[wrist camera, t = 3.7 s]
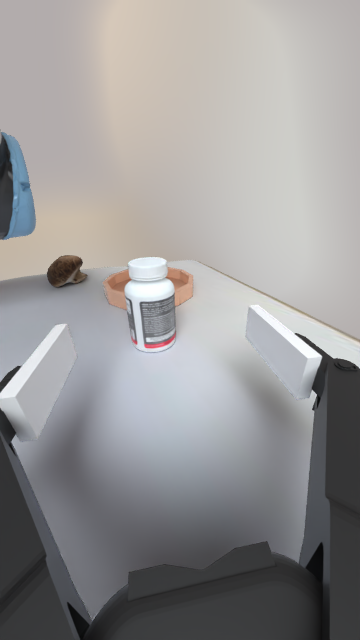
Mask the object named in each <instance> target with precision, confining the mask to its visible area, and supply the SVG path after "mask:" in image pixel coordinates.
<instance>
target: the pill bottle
mask: <svg viewBox="0 0 360 640" xmlns="http://www.w3.org/2000/svg"><path fill="white" fill-rule="evenodd" d="M128 270H129V277H130V278H131V279H132V280H131V281H129V282H128V283H127V284H126V286H125V290H124V291H125V299H126V306H127V313H128V319H129V325H130V332H131V338H132V343H133V345H134V346H135V347H136V348H137V349H138V350H141V351H144V352H159V351H163V350H166V349H168V348H169V347H171V346H172V345H173V343H174V342H175V339H176V328H175V327H176V326H175V290H174V285H173V283H172V282H171V281H170V280H169V279H167V278H165V277H166V276H167V273H168V268H167V261H166V260H165V259H163V258H158V257H145V258H138V259H134V260H131V261H130V262H128Z"/></svg>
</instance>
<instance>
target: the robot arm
mask: <svg viewBox="0 0 360 640" xmlns="http://www.w3.org/2000/svg"><path fill="white" fill-rule="evenodd" d="M35 224H36V218H35V209H34V203H33V197H32V192H31V189H30V184H29V177H28V172H27V168H26V164H25V160H24V157H23V154H22V151H21V148H20V145H19V143H18V141H17V140H16V139H15V138H14V137H12V136H11V135H7V134H6V133H3V132H1V131H0V239H2V240H6V239H9V238H12V237H19V236H26V235H29V234H31V233H32V232H33V231H34V229H35ZM245 337H246V338H247V340H248V341H249V342H250V343H251V345H252V346H253V347H254V348H255V350H256V351H257V352H258V353H259V355H260V356H261V357H262V358H263V360H264V361H265V362H266V363H267V364H268V366H269V367H270V368H271V369H272V371H273V372H274V373H275V374H276V376H277V377H278V378H279V379H280V381H281V382H282V383H283V384H284V385H285V387H286V388H287V389H288V390H289V392H290V393H291V394H292V395H293V397H294V398H295V399H296V400H299V399H305V398H309V397H310V394H311V391H312V390H313V391H314V392H315V393H316V394H317V397H316V400H315V403H314V405H313V408H312V410H314V423H313V435H312V447H311V459H310V471H309V483H308V495H307V507H306V519H305V531H304V539H303V544H302V549H301V553H300V559H299V564H298V563H297V562H295V561H294V560H292V559H290V558H288V557H286V556H284V555H281V554H278V553H274V552H271V550H270V548H269V545H268V542H267V541H266V542H261V543H257V544H252V545H248V546H243V547H239V548H235V549H233V550H232V551H230V552H229V553H228V554H226V555H225V556H223V557H222V558H220V559H219V560H217V561H216V562H214V563H213V564H211V565H210V566H209V567H207V568H206V569H203V570H196V569H190V568H184V567H178V566H172V565H166V564H164V565H159V566H155V567H150V568H146V569H142V570H137V571H133V572H129V581H128V585H126V586H125V587H123V588H122V589H121V590H119V591H118V592H117V593H116V594H115V595H114V596H113V597H112V598H111V599H110V600H109V601H108V602H107V603H106V604H105V605H104V607H103V608H102V609H101V611H100V612H99V613H98V615H97V616H96V617H95V619H94V620H93V622H92V621H91V618H90V616H89V614H88V612H87V610H86V608H85V606H84V604H83V602H82V600H81V599H80V597H79V595H78V593H77V591H76V589H75V587H74V585H73V582H72V580H71V578H70V575H69V573H68V571H67V568H66V566H65V564H64V562H63V559H62V557H61V555H60V552H59V550H58V548H57V545H56V543H55V541H54V538H53V536H52V534H51V532H50V529H49V527H48V525H47V522H46V520H45V518H44V515H43V513H42V511H41V508H40V506H39V504H38V502H37V499H36V497H35V495H34V492H33V490H32V488H31V485H30V483H29V481H28V479H27V476H26V474H25V472H24V469H23V467H22V465H21V462H20V460H19V458H18V455H17V453H16V451H15V449H14V446H13V445H12V443H11V441H12V439H13V437H14V436H15V434H16V435H17V437H18V439H19V440H20V442H23V441H30V440H37V439H38V438H39V436H40V434H41V432H42V430H43V428H44V425H45V423H46V421H47V419H48V417H49V415H50V413H51V411H52V409H53V407H54V405H55V403H56V400H57V398H58V396H59V394H60V392H61V390H62V388H63V386H64V384H65V382H66V380H67V378H68V375H69V373H70V371H71V369H72V367H73V365H74V363H75V361H76V359H77V357H78V356H77V352H76V349H75V346H74V343H73V340H72V337H71V334H70V330H69V327H68V324H59V325H55V326H54V328H53V329H52V330H51V331H50V332H49V334H48V335H47V336H46V337H45V339H44V340H43V341H42V342H41V344H40V345H39V346H38V347H37V348H36V350H35V351H34V352H33V353H32V355H31V356H30V357H29V358H28V360H27V361H26V362H25V363H24V364H23V366H17V367H16V368H14V369H13V370H12V371H10V372H9V373H8V374H7V375H6V376H5V377H4V378H3V380H2V381H1V382H0V640H360V369H359V367H358V366H356V365H355V364H353V363H352V362H350V361H347V360H344V359H338V358H336V359H333V358H332V357H331V356H329V355H328V354H327V353H326V352H324V351H323V350H322V349H320V348H319V347H318V346H316V345H315V344H314V343H312V342H311V341H310V340H309V339H307V338H306V337H304V336H302V335H300V334H298V333H293V332H291V331H290V330H289V329H288V328H286V327H285V326H284V325H283V324H281V323H280V322H279V321H278V320H277V319H275V318H274V317H273V316H272V315H270V314H269V313H268V312H267V311H265V310H264V309H263V308H262V307H260V306H259V305H251V306H249V308H248V317H247V326H246V335H245Z"/></svg>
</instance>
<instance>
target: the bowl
mask: <svg viewBox="0 0 360 640" xmlns="http://www.w3.org/2000/svg"><path fill="white" fill-rule="evenodd" d="M167 268H168V273H167V276H166V277H165V278H167V279H169V280H170V281H171V282H172V283H173V285H174V290H175V306H178V305H180V304H182V303H183V302H185V301H186V300H188V299H189V298H191V297H192V295H193V275H191V274H189V273H187V272H186V271H184V270H180V269H175V268H170V267H167ZM131 280H132V279H131V278H130V277H129V270H128V269H127V270H124V271H121V272H118V273H115V274H112V275H110V276H109V277H108V278H107V279H106V280H105V281H104V282H103V287H104V292H105V296H106V298H107V300H108V302H109V304H111V305H114V306H117V307H120V308H123V309H126V310H127V306H126V299H125V291H124V290H125V286H126V284H127V283H128V282H129V281H131Z"/></svg>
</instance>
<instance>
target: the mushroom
mask: <svg viewBox="0 0 360 640" xmlns="http://www.w3.org/2000/svg"><path fill="white" fill-rule="evenodd" d="M82 263H83V262H82V259H81V258H79V257H77V256H70V255H67V256H61V257H59V258H58V259H57V260H56V261H54V262H53V264H51V266H50V267H49V268H48V272H47V277H48V280H49V282H50V283H51V285H53V286H55V287H59V286H62V285H64V284H65V283H68V282H72V283H75V284H76V283H79V282H81V281H82V280H84V279H85V278H86V277H87V275H86V274H83V273H81V272H80V267H81V266H82Z"/></svg>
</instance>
